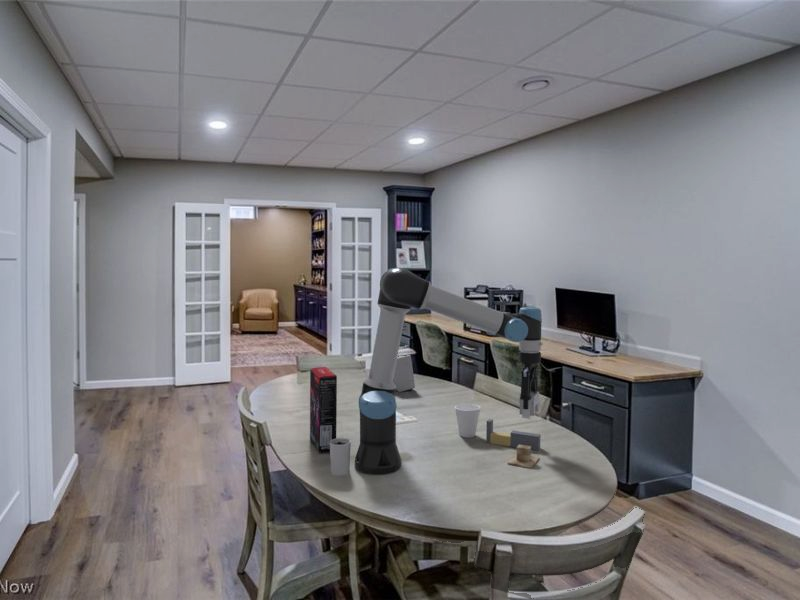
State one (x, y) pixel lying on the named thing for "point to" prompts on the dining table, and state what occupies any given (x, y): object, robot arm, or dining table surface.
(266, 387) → the dining table surface
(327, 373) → the graphics card box
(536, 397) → the grey block
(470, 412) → the cup
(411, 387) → the electrical switch box
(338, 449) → the toilet paper roll
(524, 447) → the tan tabbed plate
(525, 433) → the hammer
